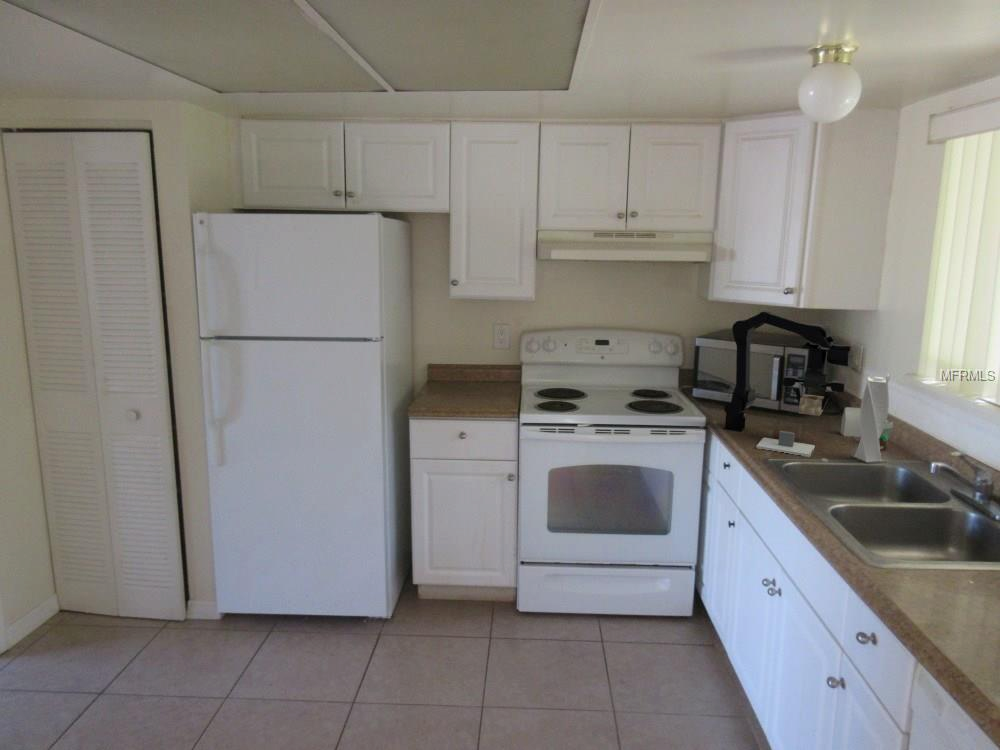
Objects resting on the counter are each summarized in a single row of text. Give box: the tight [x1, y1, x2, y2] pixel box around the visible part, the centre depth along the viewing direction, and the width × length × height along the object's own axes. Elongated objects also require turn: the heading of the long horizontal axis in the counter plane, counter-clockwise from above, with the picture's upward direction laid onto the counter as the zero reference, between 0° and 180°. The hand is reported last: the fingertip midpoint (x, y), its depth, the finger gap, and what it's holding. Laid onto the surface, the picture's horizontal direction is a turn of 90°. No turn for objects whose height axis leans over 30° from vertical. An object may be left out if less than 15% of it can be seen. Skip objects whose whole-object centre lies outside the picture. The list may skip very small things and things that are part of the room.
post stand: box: [756, 430, 816, 458], centre depth 217 cm, size 16×12×6 cm
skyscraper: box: [850, 373, 890, 464], centre depth 204 cm, size 8×8×28 cm
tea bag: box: [839, 406, 861, 438], centre depth 235 cm, size 4×7×10 cm, turn 80°
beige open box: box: [798, 393, 824, 417], centre depth 223 cm, size 6×8×5 cm
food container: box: [879, 417, 894, 452], centre depth 220 cm, size 12×6×10 cm, turn 168°
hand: (811, 408), depth 223 cm, fingers closed on beige open box, 6 cm apart
